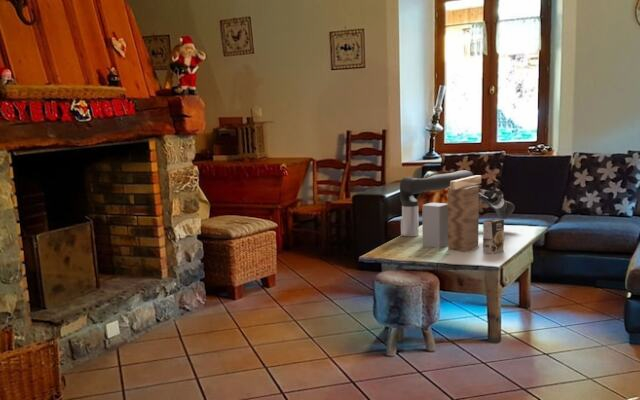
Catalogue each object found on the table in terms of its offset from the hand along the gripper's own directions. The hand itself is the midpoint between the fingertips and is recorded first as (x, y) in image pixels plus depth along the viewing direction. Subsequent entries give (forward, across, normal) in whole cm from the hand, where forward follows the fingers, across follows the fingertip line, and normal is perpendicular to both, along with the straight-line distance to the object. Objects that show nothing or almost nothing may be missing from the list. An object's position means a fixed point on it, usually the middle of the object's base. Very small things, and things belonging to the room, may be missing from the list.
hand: (484, 188), depth 331 cm
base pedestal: (+8, -15, +37) cm, 41 cm away
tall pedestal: (+7, 0, +36) cm, 37 cm away
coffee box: (+6, +16, +36) cm, 40 cm away
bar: (+20, 0, +7) cm, 21 cm away
